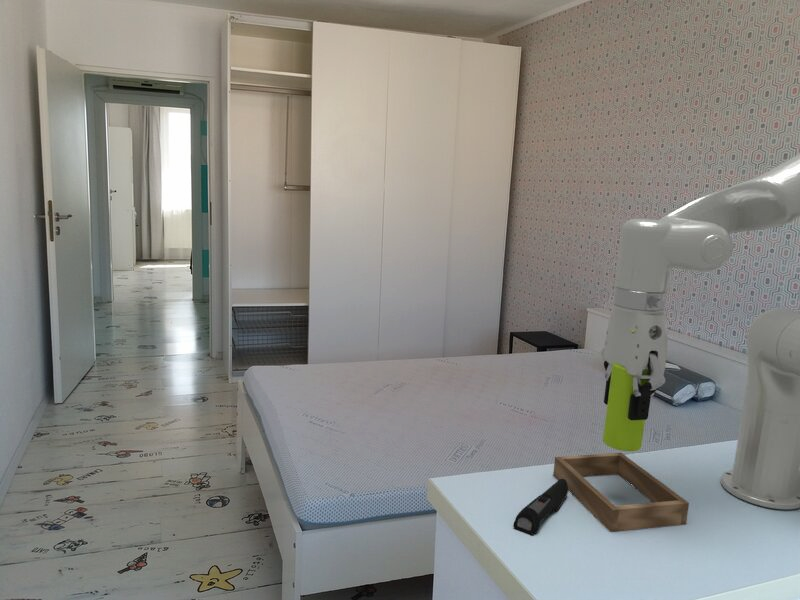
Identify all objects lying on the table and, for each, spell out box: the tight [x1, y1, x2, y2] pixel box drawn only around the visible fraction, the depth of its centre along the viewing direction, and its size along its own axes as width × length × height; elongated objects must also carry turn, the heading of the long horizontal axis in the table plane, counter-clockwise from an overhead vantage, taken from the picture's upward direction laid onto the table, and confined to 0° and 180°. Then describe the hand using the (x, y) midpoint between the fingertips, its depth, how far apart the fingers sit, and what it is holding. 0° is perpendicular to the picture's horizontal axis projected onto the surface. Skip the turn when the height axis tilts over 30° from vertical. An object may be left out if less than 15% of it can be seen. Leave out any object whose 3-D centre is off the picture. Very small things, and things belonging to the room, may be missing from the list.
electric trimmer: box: [512, 479, 569, 536], centre depth 98 cm, size 4×16×3 cm, turn 144°
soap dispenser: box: [602, 329, 648, 452], centre depth 100 cm, size 6×7×20 cm
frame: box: [552, 452, 690, 533], centre depth 104 cm, size 13×18×4 cm
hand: (625, 410), depth 101 cm, fingers closed on soap dispenser, 6 cm apart
